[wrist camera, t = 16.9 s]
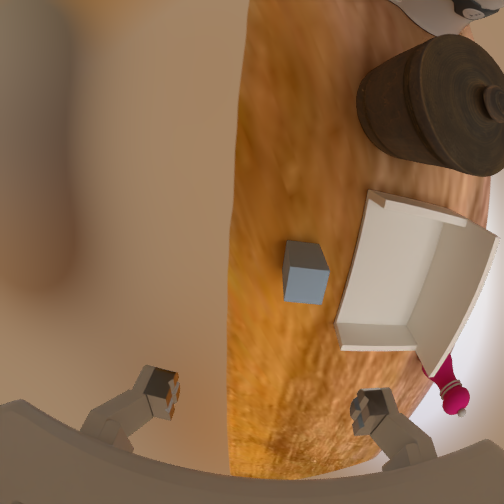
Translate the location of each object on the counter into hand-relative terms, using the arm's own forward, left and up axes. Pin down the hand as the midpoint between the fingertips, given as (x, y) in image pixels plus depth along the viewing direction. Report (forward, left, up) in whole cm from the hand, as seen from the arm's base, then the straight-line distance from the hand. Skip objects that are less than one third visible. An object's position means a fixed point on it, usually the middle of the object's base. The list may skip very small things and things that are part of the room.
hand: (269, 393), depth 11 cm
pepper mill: (+34, +33, -31) cm, 57 cm away
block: (+8, +3, -31) cm, 32 cm away
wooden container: (-14, +21, -31) cm, 40 cm away
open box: (+12, +20, -31) cm, 39 cm away
